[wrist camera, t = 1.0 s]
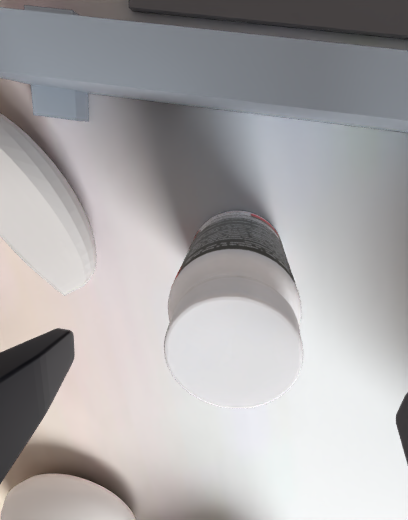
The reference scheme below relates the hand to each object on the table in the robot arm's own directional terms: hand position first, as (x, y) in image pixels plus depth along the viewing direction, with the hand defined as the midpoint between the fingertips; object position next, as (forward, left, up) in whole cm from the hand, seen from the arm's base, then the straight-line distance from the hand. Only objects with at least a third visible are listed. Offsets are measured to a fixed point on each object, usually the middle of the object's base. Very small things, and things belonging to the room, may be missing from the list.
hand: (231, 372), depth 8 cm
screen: (0, -8, -9) cm, 12 cm away
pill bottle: (0, 0, -9) cm, 9 cm away
